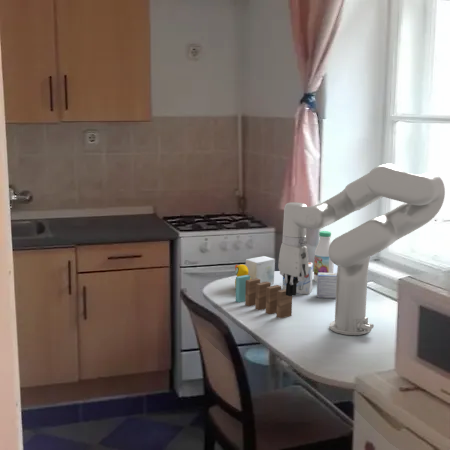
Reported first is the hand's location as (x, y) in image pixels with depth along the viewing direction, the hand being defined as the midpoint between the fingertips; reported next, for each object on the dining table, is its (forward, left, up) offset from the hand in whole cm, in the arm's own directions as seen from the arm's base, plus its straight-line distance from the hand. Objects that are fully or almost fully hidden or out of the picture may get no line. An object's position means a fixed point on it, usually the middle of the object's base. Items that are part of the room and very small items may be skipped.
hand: (290, 295), depth 228 cm
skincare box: (+38, -19, -9) cm, 44 cm away
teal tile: (+25, 0, -8) cm, 27 cm away
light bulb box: (+23, -25, -9) cm, 35 cm away
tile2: (+9, 0, -8) cm, 12 cm away
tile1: (+3, 0, -8) cm, 9 cm away
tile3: (+14, 0, -8) cm, 17 cm away
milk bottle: (+28, -44, -8) cm, 53 cm away
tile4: (+20, 0, -8) cm, 21 cm away
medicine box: (+11, -29, -8) cm, 33 cm away
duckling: (+35, -8, -8) cm, 37 cm away
